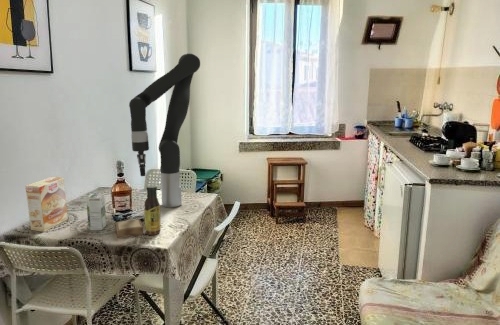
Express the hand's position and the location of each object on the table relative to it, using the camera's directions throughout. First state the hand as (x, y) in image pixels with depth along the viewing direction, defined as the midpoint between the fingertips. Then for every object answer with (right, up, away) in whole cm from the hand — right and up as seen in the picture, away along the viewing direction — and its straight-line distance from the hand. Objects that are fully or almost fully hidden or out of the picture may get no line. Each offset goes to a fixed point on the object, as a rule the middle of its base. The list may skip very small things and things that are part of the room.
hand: (142, 174), depth 179 cm
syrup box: (-14, -22, -19) cm, 33 cm away
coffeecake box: (-36, -22, -16) cm, 45 cm away
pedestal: (+1, -23, -23) cm, 32 cm away
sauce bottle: (+11, -24, -24) cm, 35 cm away
